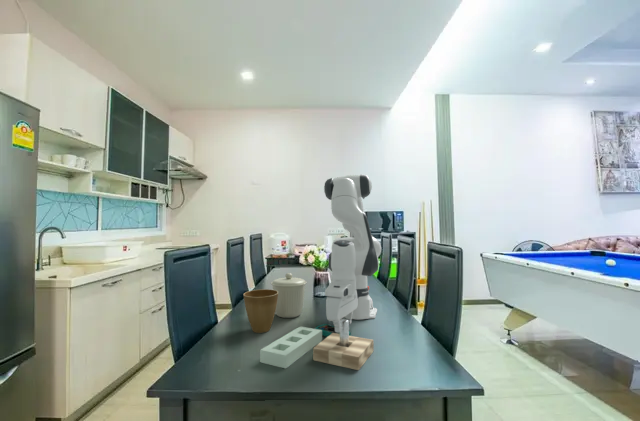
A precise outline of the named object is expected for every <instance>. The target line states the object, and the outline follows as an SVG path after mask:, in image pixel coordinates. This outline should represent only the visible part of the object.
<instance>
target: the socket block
mask: <svg viewBox="0 0 640 421" xmlns="http://www.w3.org/2000/svg"><path fill="white" fill-rule="evenodd" d="M374 345H375V343H374V339H370V338H365V337H359V336H353V335H351V336H349V347H344V346H340V334H336V333H332V334H331V335H329V336H328V337H325V338H324V339H322V341H321V342H320V343H318V344H317V345H316V346H314V347H313V348H312V357H313V358H312V359H313V360H312V361H315V362H319V363H325V364H329V365H334V366H338V367H340V368H341V367H343V368H347V369H352V370H355V371H360V369H361V368H362V367H363V366H364V365H365V363H366V362H367V360H368V359H369V358H370V357H371V355H372V354H373V352H374V351H375V350H374V347H375V346H374Z"/></svg>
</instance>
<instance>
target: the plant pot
mask: <svg viewBox="0 0 640 421" xmlns="http://www.w3.org/2000/svg"><path fill="white" fill-rule="evenodd" d="M277 300H278V291H276V290H273V289H269V288H268V289H266V288H265V289H264V288H263V289H262V288H261V289H254V290H250V291H246V292H244V293H243V302H244V308H245V312H246V315H247V319H248V321H249V322H248V323H249V324H250V327H251V330H252V332H253V333H256V334H264V333H267V332H269V331H270V330H271V328H272V324H273V322H274V318H275V315H276V313H275V311H276V306H277Z"/></svg>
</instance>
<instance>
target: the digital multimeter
mask: <svg viewBox="0 0 640 421" xmlns="http://www.w3.org/2000/svg"><path fill="white" fill-rule="evenodd" d="M314 329H318V330H322V337H325V338H327V337H328V336H329V335H331V334H332V333H336V334H340V332H339V333H338V332H335V326H334V325H331V324H330V323H329V324H328V323H321V324H319V325H318V326H316V327H315V328H314ZM349 336H352V331H350V330H349Z"/></svg>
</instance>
